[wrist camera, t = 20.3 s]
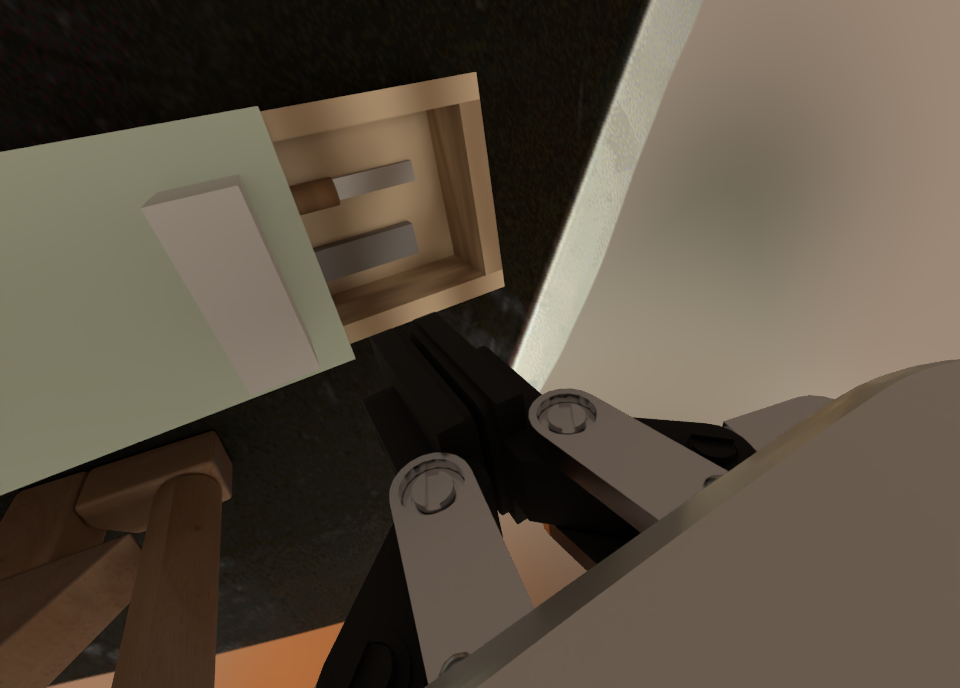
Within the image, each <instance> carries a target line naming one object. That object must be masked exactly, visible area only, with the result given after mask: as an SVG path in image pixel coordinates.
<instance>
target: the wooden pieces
mask: <svg viewBox="0 0 960 688" xmlns="http://www.w3.org/2000/svg"><path fill="white" fill-rule="evenodd" d="M231 496H232V463H231V461H230V459H229V457H228V455H227V453H226V451H225V449H224V447H223V445H222V443H221V441H220V439H219V437H218V435H217V434H216V433H215V432H214V431H210V432H207V433H203V434H200V435H197V436H194V437H191V438H188V439H185V440H181V441H178V442H175V443H172V444H169V445H166V446H162V447H159V448H156V449H153V450H150V451H147V452H144V453H140V454H137V455H134V456H131V457H128V458H125V459H121V460H118V461H115V462H112V463H109V464H106V465H103V466H99V467H96V468H94V469H92V470H91V471H90V472H89V473H88V472H86V471H85V472H79V473H76V474H73V475H70V476H67V477H64V478H60V479H57V480H54V481H51V482H48V483H45V484H42V485H38V486H35V487H32V488H29V489H26V490H23V491H21V492H20V493H18V494H17V495H16V496H15V498H14V500H13V501H12V503H11V505H10V507H9V508H8V510H7V512H6V513H5V515H4V517H3V519H2V520H1V522H0V688H46V687H47V686H48V685H49V684H50V683H51V682H52V681H53V680H54V679H55V678H56V677H57V676H58V675H59V674H60V673H61V672H62V671H63V670H64V669H65V668H66V667H67V666H68V665H69V664H70V663H71V662H72V661H73V660H74V659H75V658H76V657H77V656H78V655H79V654H80V653H81V652H82V651H83V650H84V649H85V648H86V647H87V646H88V645H89V644H90V643H91V642H92V641H93V640H94V639H95V638H96V636H97V635H98V634H99V633H100V632H101V631H102V630H103V629H104V628H105V627H106V626H107V625H108V624H109V623H110V622H111V621H112V620H113V619H114V618H115V617H116V616H117V615H118V614H119V613H120V612H121V611H122V610H123V609H124V608H125V607H126V606H127V605H128V604H129V603H130V606H129V611H128V615H127V620H126V624H125V629H124V633H123V638H122V642H121V647H120V651H119V656H118V660H117V665H116V669H115V674H114V678H113V683H112V687H111V688H214V680H215V656H216V633H217V609H218V585H219V561H220V538H221V514H222V502H223V501H226V500H228V499H230V498H231ZM106 530H115V531H124V532H133V533H139V532H143V531H146V534H145V539H144V543H143V548H141V546H140V545H139V544H138V542H137V541H136V540H135V538H134V537H133V536H132V535H131V534H125V535H123V536H120V537H117V538H115V539H112V540H109V541H107V542H104V543H102V542H103V539H104V536H105V533H106Z"/></svg>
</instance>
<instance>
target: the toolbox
mask: <svg viewBox="0 0 960 688" xmlns="http://www.w3.org/2000/svg"><path fill="white" fill-rule="evenodd" d="M260 113H261V116H262V118H263V121H264V123H265V126H266V129H267V131H268V134H269V136H270V139H271V142H272V144H273V147H274V149H275V152H276V155H277V157H278V160H279V162H280V165H281V167H282V170H283V173H284V175H285V178H286V180H287V183H288V186H289V188H290V191H291V193H292V196H293V198H294V201H295V204H296V206H297V209H298V211H299V214H300V217H301V219H302V222H303V224H304V227H305V230H306V232H307V235H308V237H309V240H310V242H311V245H312V248H313V250H314V253H315V255H316V258H317V261H318V263H319V266H320V268H321V271H322V273H323V276H324V279H325V281H326V284H327V286H328V289H329V292H330V294H331V297H332V299H333V302H334V304H335V307H336V310H337V312H338V315H339V317H340V320H341V323H342V325H343V328H344V330H345V333H346V336H347V338H348V341H349V343H350V344H351V343H353V342H356V341H359V340H361V339H364V338H367V337H370V336H372V335H375V334H378V333H380V332H383V331H385V330H388V329H391V328H394V327H396V326H399V325H402V324H404V323H407V322H410V321H413V320H414V319H417V318H419V317H422V316H424V315H427V314H429V313H432V312H437V311H439V310H442V309H445V308H448V307H450V306H453V305H456V304H458V303H461V302H464V301H466V300H469V299H472V298H474V297H477V296H480V295H482V294H485V293H488V292H491V291H493V290H496V289H499V288H501V287H504V279H503V271H502V263H501V256H500V248H499V241H498V233H497V226H496V218H495V211H494V203H493V196H492V188H491V181H490V173H489V166H488V158H487V151H486V143H485V136H484V128H483V121H482V113H481V105H480V98H479V90H478V83H477V75H476V72H473V73H468V74H462V75H457V76H451V77H446V78H440V79H435V80H429V81H424V82H419V83H413V84H408V85H402V86H397V87H391V88H386V89H380V90H375V91H369V92H364V93H359V94H353V95H348V96H342V97H337V98H331V99H326V100H320V101H315V102H309V103H304V104H299V105H293V106H288V107H282V108H277V109H271V110H266V111H260Z"/></svg>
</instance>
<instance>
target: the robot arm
mask: <svg viewBox="0 0 960 688" xmlns="http://www.w3.org/2000/svg"><path fill="white" fill-rule="evenodd" d="M408 335H409V338H410V339H409V338H408V337H407V336H406V334H405V333H404V332H403V331H399V332H397V333H395V332H394V330H393V329H392V328H391V329H388V330H385V331H383V332H380V333H378V334H375V335H372V336H370V341H371V344H372V347H373V350H374V353H375V356H376V359H377V361H378V364H379V367H380V370H381V373H382V376H383V378H384V381H385V384H386V387H387V388H384V389H382V390H380V391H377V392H375V393H373V394H371V395H368V396H366V397H364V398H361V400H362V403H363V406H364V408H365V411H366V413H367V416H368V418H369V421H370V423H371V426H372V428H373V430H374V433H375V435H376V437H377V440H378V442H379V444H380V447H381V449H382V451H383V453H384V455H385V457H386V459H387V462H388V464H389V466H390V468H391V470H392V472H393V474H394V476H395V478H394V480H393V482H392V485H391V488H390V506H391V510H392V515H393V520H394V523H393V525H392V527H391V529H390V531H389V533H388V535H387V537H386V539H385V541H384V543H383V545H382V547H381V549H380V551H379V553H378V555H377V557H376V559H375V561H374V563H373V566H372V568H371V570H370V572H369V574H368V576H367V578H366V580H365V582H364V584H363V586H362V588H361V590H360V592H359V594H358V596H357V598H356V600H355V602H354V604H353V606H352V608H351V610H350V612H349V614H348V616H347V618H346V620H345V622H344V625H343V627H342V629H341V631H340V633H339V635H338V637H337V639H336V641H335V643H334V645H333V647H332V649H331V651H330V653H329V655H328V657H327V659H326V661H325V663H324V665H323V668H322V671H321V674H320V676H319V679H318V682H317V684H316V686H315V687H314V688H960V359H959V360H947V361H941V362H935V363H930V364H924V365H919V366H914V367H910V368H906V369H903V370H900V371H896V372H893V373H890V374H887V375H884V376H881V377H878V378H875V379H873V380H871V381H869V382H866V383H864V384H862V385H859V386H857V387H855V388H854V389H852V390H850V391H848V392H847V393H845V394H843V395H842V396H840V397H838V398H836V399H831V398H827V397H822V396H811V395H809V396H802V397H797V398H794V399H791V400H788V401H785V402H782V403H779V404H776V405H773V406H770V407H767V408H764V409H760V410H757V411H754V412H751V413H748V414H745V415H742V416H739V417H736V418H733V419H730V420H727V421H724V422H723V426H722V427H721V426H718V425H712V424H706V423H695V422H683V421H669V420H657V419H645V418H633V417H631V416H629V415H627V414H625V413H624V412H622V411H620V410H618V409H616V408H614V407H613V406H611V405H609V404H608V403H606V402H604V401H602V400H600V399H599V398H597V397H595V396H593V395H591V394H589V393H587V392H584V391H582V390H576V389H558V390H554V391H549V392H547V393H545V394H543V395H542V394H540V393H539V392H538V391H537V390H536V389H535V388H534V387H532V386H531V385H530V384H529V383H528V382H527V381H525V380H524V379H523V378H522V377H521V376H520V375H519V374H517V373H516V372H515V371H514V370H513V369H512V368H510V367H509V366H508V365H507V364H506V363H505V362H504V361H502V360H501V359H500V358H499V357H498V356H497V355H495V354H494V353H493V352H492V351H491V350H490V349H489V348H487V347H485V346H481V347H479V348H476V349H475V348H474V347H473V346H472V345H471V344H470V343H469V342H467V341H466V340H465V339H464V338H463V337H462V336H461V335H460V334H459V333H458V332H457V331H455V330H454V329H453V328H452V327H451V326H450V325H449V324H448V323H447V322H446V321H444V320H443V319H442V318H441V317H440V316H439V315H438V314H437V313H436V312H432V313H429V314H427V315H424V316H422V317H419V318H417V319H414V320H413V326H412V327H409V328H408ZM497 510H498V511H499V513H500V514H501V515H504V514H506V513H508V512H509V513H510V514H511V516H512V517H513V519H514V520H515V522H516V523H517V524H519V523H521V522H522V521H524V520H526V519H527V518H528V520H529V521H533V522H539V523H543V526H544V529H545V530H546V531H547V533H548V534H549V535H550V536H551V537H552V538H553V539H554V540H555V541H556V542H557V543H558V544H559V545H560V546H561V547H562V548H563V549H564V550H565V551H567V552H568V553H569V554H570V555H571V556H572V557H573V558H574V559H575V560H576V561H577V562H578V563H579V564H580V565H581V566H582V567H583V568H584V569H585V570H586V571H587V572H586V573H584V574H583V575H581V576H580V577H578V578H577V579H576V580H574V581H573V582H572V583H570V584H569V585H567V586H566V587H564V588H563V589H562V590H560V591H559V592H557V593H556V594H555V595H553V596H552V597H550V598H549V599H548V600H546V601H545V602H544V603H542V604H541V605H539V606H538V607H536V608H535V609H534V606H533V604H532V602H531V600H530V598H529V595H528V593H527V591H526V589H525V587H524V584H523V582H522V580H521V578H520V575H519V573H518V571H517V569H516V567H515V565H514V562H513V560H512V558H511V556H510V553H509V551H508V549H507V547H506V545H505V542H504V540H503V536H502V531H501V526H500V522H499V517H498V512H497Z"/></svg>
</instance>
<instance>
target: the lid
mask: <svg viewBox="0 0 960 688" xmlns="http://www.w3.org/2000/svg"><path fill="white" fill-rule="evenodd" d="M353 359H355V356H354V354H353V351H352V348H351V346H350V343H349V341H348V338H347V336H346V333H345V330H344V328H343V325H342V323H341V320H340V317H339V315H338V312H337V310H336V307H335V304H334V302H333V299H332V297H331V294H330V292H329V289H328V286H327V284H326V281H325V279H324V276H323V273H322V271H321V268H320V266H319V263H318V261H317V258H316V255H315V253H314V250H313V248H312V245H311V242H310V240H309V237H308V235H307V232H306V230H305V227H304V224H303V222H302V219H301V217H300V214H299V211H298V209H297V206H296V204H295V201H294V198H293V196H292V193H291V191H290V188H289V186H288V183H287V180H286V178H285V175H284V173H283V170H282V167H281V165H280V162H279V160H278V157H277V155H276V152H275V149H274V147H273V144H272V142H271V139H270V136H269V134H268V131H267V129H266V126H265V123H264V121H263V118H262V116H261V113H260V111H259V108H258V106H255V107H249V108H244V109H238V110H233V111H227V112H221V113H216V114H210V115H205V116H199V117H194V118H188V119H182V120H177V121H171V122H166V123H160V124H155V125H149V126H143V127H138V128H132V129H127V130H121V131H115V132H110V133H104V134H99V135H93V136H88V137H82V138H76V139H71V140H65V141H60V142H54V143H48V144H43V145H37V146H32V147H26V148H21V149H15V150H9V151H4V152H0V495H3V494H5V493H8V492H10V491H13V490H16V489H18V488H21V487H23V486H26V485H29V484H31V483H34V482H36V481H39V480H42V479H44V478H47V477H49V476H52V475H55V474H57V473H60V472H62V471H65V470H68V469H70V468H73V467H75V466H78V465H81V464H83V463H86V462H88V461H91V460H94V459H96V458H99V457H101V456H104V455H107V454H109V453H112V452H114V451H117V450H120V449H122V448H125V447H127V446H130V445H133V444H135V443H138V442H140V441H143V440H146V439H148V438H151V437H153V436H156V435H159V434H161V433H164V432H166V431H169V430H172V429H174V428H177V427H179V426H182V425H185V424H187V423H190V422H192V421H195V420H198V419H200V418H203V417H205V416H208V415H211V414H213V413H216V412H218V411H221V410H224V409H226V408H229V407H231V406H234V405H237V404H239V403H242V402H244V401H247V400H249V399H252V398H255V397H257V396H260V395H262V394H265V393H268V392H270V391H273V390H275V389H278V388H281V387H283V386H286V385H288V384H291V383H294V382H296V381H299V380H301V379H304V378H307V377H309V376H312V375H314V374H317V373H320V372H322V371H325V370H327V369H330V368H333V367H335V366H338V365H340V364H343V363H346V362H348V361H351V360H353Z"/></svg>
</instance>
